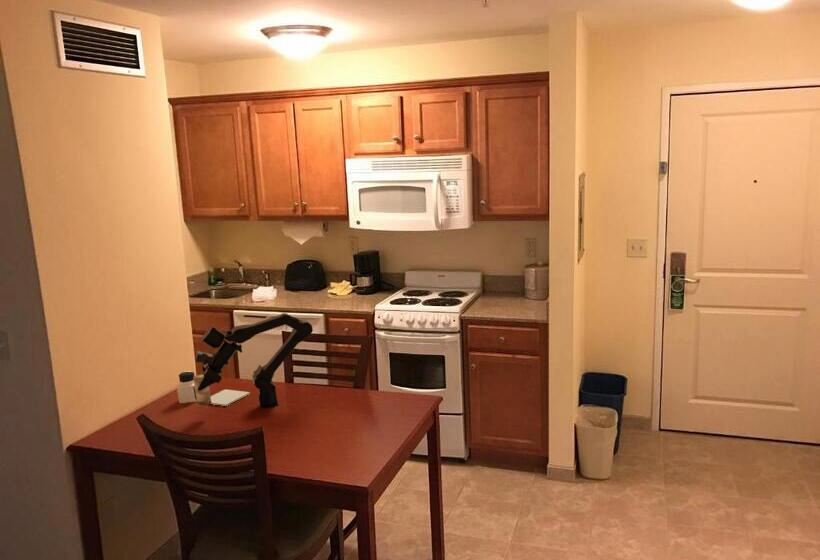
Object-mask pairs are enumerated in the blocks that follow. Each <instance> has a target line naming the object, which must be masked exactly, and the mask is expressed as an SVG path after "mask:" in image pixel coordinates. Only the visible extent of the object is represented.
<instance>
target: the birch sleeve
mask: <svg viewBox="0 0 820 560" xmlns="http://www.w3.org/2000/svg"><path fill="white" fill-rule="evenodd" d="M194 376H195V377H193V380H194V386H195V392H196V397H197V401H196V405H197V406H198V407H206V406H210V405H209V404H211V392H210V386H208V387H206V388H204V389H203V390H201V391H199V390H198V387H199V385H200V383H201V382H202V380H203V378H204V374H202V373H201V374H197V375H194Z"/></svg>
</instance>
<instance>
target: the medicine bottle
mask: <svg viewBox="0 0 820 560" xmlns="http://www.w3.org/2000/svg"><path fill="white" fill-rule="evenodd" d="M195 376H196V375H195V372H194V371H192V370H188V371H183V372H181V373H180V374H179V375H178V379H179V385H178V386H177V387H176V391H177V397H178V402H179V404H188V402H189V403H197V397H196V392H195V386H194V380H193V377H195Z"/></svg>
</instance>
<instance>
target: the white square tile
mask: <svg viewBox="0 0 820 560" xmlns="http://www.w3.org/2000/svg"><path fill="white" fill-rule="evenodd" d="M249 394H250V395H251V392H249V391H242V390H234V389H227V388H226V389H222V390H220V391H218V392H217V393H215V394H212V395H210V397H211V404H213V405H212V406H215V405H221V406H220V407H223V406H227V407H229V406H231V405H232V404H231V403H233V402H235V401H237V400H239V399H241V398H243V397H245V396H246V397H248V396H250V395H249ZM247 395H248V396H247ZM246 397H245V398H246ZM243 399H244V398H243ZM241 400H242V399H241ZM239 401H240V400H239ZM237 402H238V401H237ZM235 403H236V402H235ZM230 404H231V405H230ZM233 404H234V403H233ZM228 405H229V406H228Z"/></svg>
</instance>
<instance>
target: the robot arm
mask: <svg viewBox="0 0 820 560" xmlns="http://www.w3.org/2000/svg"><path fill="white" fill-rule="evenodd" d="M282 326H287V327H290V328H291V329H292V330H291V332H290V335H289V337H288V338H287V339H286V340H285V342H284V343H283V344H282V345H281V346H280V348H278V350H277V351H276V352H275V353H274V355H273V356H272V357H271V358H270V360H269V361H267V363H266V364H265V365H263V366H262V365H261V364H258V366H257V368H256V369H255V370H254V371H252V376H251V378H252V382H253V384H254V386H255V388H256V389H258V394H257V396H258V404H259V406H260V407H261V409H265V408H270V407H276V406H279V402H278V396H277V389H276V388H277V386H276V385H275V383H274V381H273V378H274V375H275V373H276V371H277V370H278V369H279V368H280V366H281V365H282V364H283V362H284V361H285V360H286V359H287V358H288V357H289V356H290V354H291V353H292V352H293V350H294V349H295V348H296V347H297V346H298V344H300V343H301V342H303V341H304V340H306V339H307V338H308V337H309V336H311V334H312V333H313V331H314V330H313V325H312V324H311V323H310V322H309V321H308V320H306V319H303V318H301V319H299V318H297V317H294V316H292V315H290V314H288V313H287V312H283V313H280V314H279V315H276V316H273V317H269V318H267V319H264V320H261V321H258V322H255V323H251V324H241V325H237V326H236V325H235V326H234V327H233V328H232V329H231V330H227V331H224V332H221V331H220V330H219V329H217V327H215V326H211V327H210V328H209V329H208V330H207V331H205V333H204V334H203V336H202V338H201V342H202V343H204V344H206V345H207V346H209V347H211V348H212V349H217V351H214V352H213V353H212V354H211V353H208V352H204V351H200V350H198V351H197V352H196V355H195V358H194V360H195V362H196V363H202V366H201V369H202V373H201V375H202V374H204V378H203V380H202V382H201V383H200V385H199V387H198V390H199V391H201V390H203V389H204V388H206V387H208V386H209V387H210V386H211V385H214V384H216V383H217V384H219V383H220V382H221V381H222V372H223V369H224V368H225V367H226V365H229V361H230V360H231V358H232V357H233V356H234V354H235V353H236V352H239V353H242V352H243V349H242V347H243V345H242V344H243V343H245V342H247V341H249V340H251V339H253V338H254V337H255V336H257V335H259V334H261V333H262V334H263V333H265V332H268V331H271V330H273V329H275V328H279V327H282Z"/></svg>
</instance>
